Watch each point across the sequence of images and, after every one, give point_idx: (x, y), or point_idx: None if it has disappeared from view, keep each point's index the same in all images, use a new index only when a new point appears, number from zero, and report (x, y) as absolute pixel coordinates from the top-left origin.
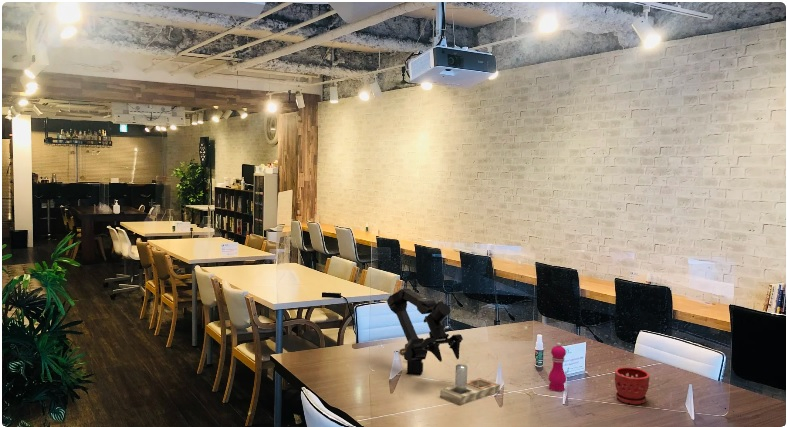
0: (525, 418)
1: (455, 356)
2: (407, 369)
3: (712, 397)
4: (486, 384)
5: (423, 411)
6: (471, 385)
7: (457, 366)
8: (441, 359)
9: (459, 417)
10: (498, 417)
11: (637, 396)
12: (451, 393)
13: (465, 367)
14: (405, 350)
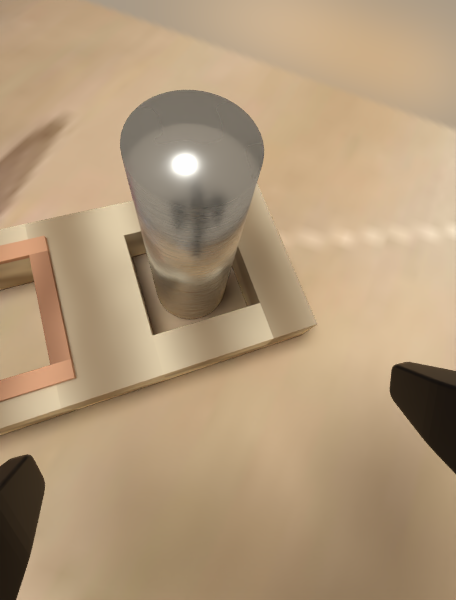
0: (50, 3)
1: (27, 559)
2: None
3: None
4: None
5: (440, 201)
6: (63, 319)
7: (249, 150)
8: (414, 366)
9: (309, 102)
10: (152, 47)
11: None
12: (274, 243)
13: (175, 94)
14: None
